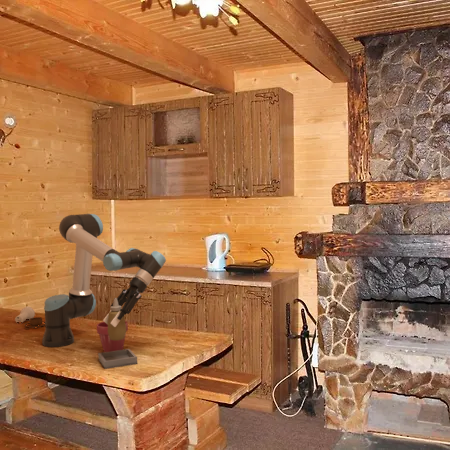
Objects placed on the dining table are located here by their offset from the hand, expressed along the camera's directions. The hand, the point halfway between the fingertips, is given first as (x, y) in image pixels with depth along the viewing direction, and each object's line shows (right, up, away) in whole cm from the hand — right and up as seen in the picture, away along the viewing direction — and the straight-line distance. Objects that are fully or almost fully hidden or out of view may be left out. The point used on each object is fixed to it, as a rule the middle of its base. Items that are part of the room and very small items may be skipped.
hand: (109, 323), depth 228 cm
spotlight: (-69, -15, +86) cm, 112 cm away
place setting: (-54, -16, +72) cm, 91 cm away
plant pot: (-3, -17, +22) cm, 27 cm away
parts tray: (+3, -17, +3) cm, 18 cm away
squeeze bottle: (+3, -7, +3) cm, 8 cm away
